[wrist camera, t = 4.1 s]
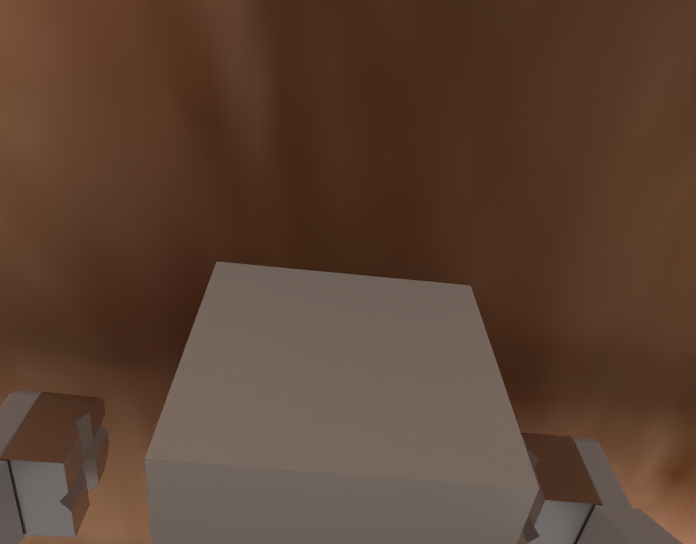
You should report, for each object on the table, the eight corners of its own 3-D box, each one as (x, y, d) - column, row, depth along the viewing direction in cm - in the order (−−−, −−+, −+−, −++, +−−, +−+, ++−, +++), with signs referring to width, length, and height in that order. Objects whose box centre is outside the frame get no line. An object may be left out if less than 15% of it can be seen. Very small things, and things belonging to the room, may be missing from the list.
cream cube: (469, 283, 12) (538, 488, 8) (425, 458, 15) (459, 686, 10) (217, 259, 12) (144, 459, 7) (216, 442, 14) (161, 670, 10)
